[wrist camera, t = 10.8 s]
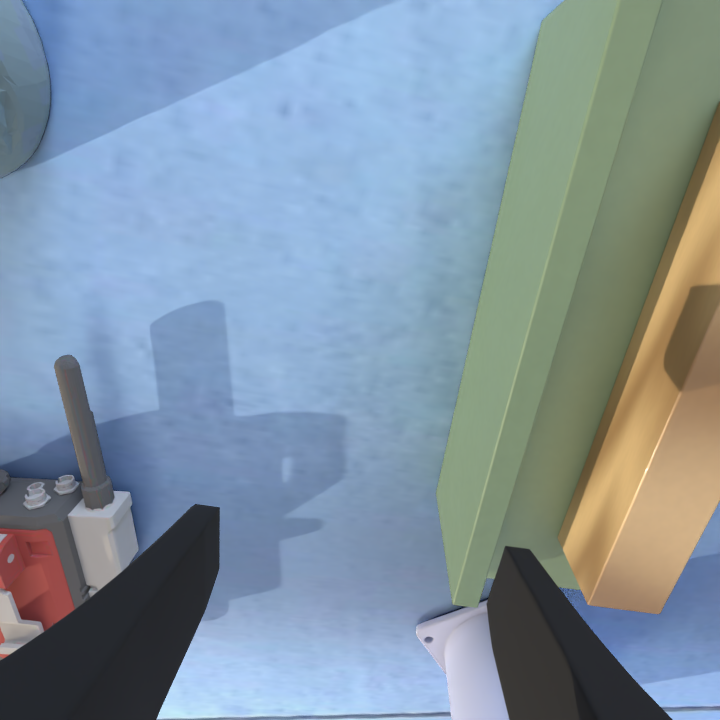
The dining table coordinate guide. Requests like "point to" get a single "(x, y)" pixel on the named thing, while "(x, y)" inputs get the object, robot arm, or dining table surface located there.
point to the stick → (658, 422)
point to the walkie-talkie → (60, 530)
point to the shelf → (571, 267)
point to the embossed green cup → (21, 87)
